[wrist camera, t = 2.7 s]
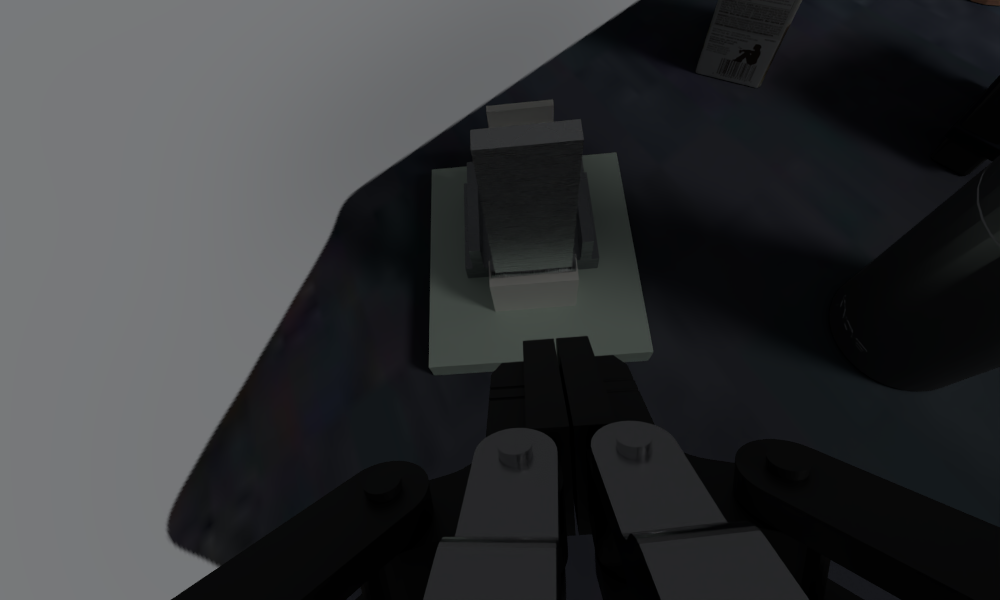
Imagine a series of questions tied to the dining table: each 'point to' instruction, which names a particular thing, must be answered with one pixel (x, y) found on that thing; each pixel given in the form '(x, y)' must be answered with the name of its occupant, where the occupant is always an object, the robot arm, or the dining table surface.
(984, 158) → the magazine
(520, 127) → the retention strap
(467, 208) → the heat sink
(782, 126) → the dining table surface
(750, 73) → the coffee box
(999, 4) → the pepper shaker
